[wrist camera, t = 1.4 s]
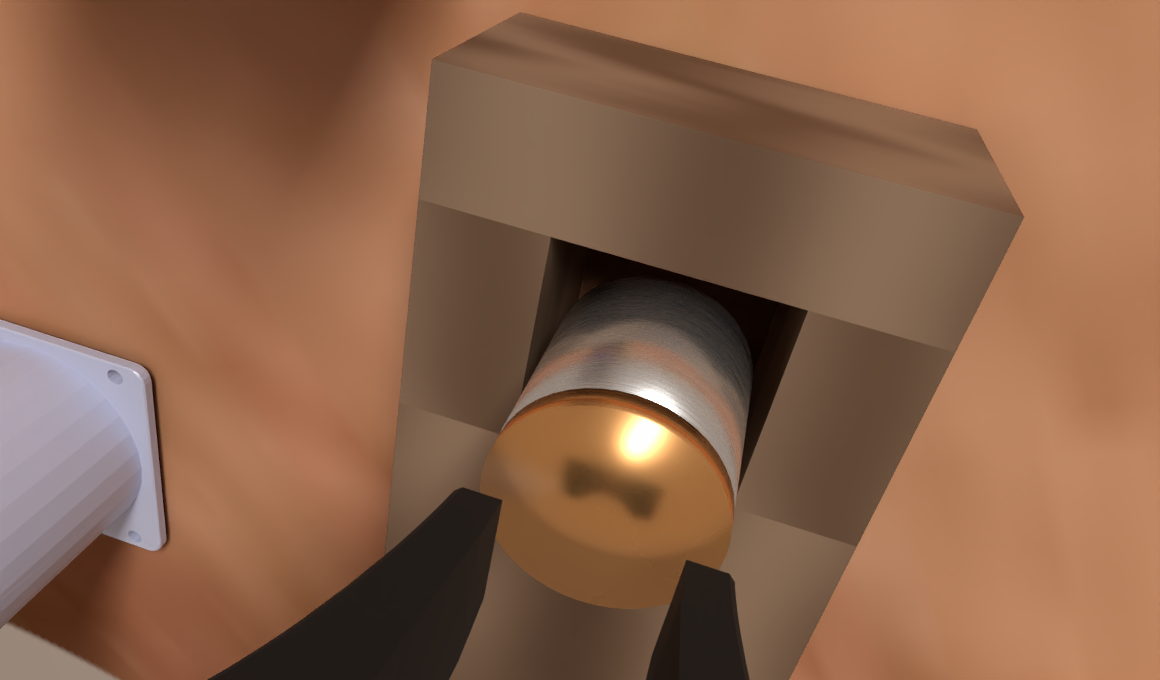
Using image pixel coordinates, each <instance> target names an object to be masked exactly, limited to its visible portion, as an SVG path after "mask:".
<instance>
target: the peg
mask: <svg viewBox="0 0 1160 680" xmlns="http://www.w3.org/2000/svg"><path fill="white" fill-rule="evenodd" d="M752 381H753V361H752V356H751V351H750V348H749V345H748V342H747V340H746V338H745V336H744V334H743V332H742V330H741V328H740V327H739V325H738V324H737V322H736V321H735V320H734V318H733V317H732V316H731V315H730V314H729V313H728V312H727V311H726V309H725V308H724V307H722V306H721V305H720V304H719V303H718V302H716V301H715V300H714V299H713V298H711V297H710V296H708V295H707V294H705V293H704V292H702V291H700V290H698V289H696V288H694V287H692V286H690V285H687V284H684V283H681V282H679V281H676V280H671V279H667V278H662V277H653V276H634V277H627V278H621V279H617V280H613V281H610V282H607V283H605V284H603V285H600V286H598V287H596V288H594V289H593V290H591V291H589V292H588V293H586V294H585V295H584V296H583V297H582V298H580V299H579V300H578V301H577V302H576V303H575V304H574V305H573V306H572V307H571V309H570V310H569V311H568V313H567V314H566V316H565V317H564V319H563V321H562V323H561V324H560V326H559V328H558V330H557V332H556V333H555V335H554V337H553V339H552V341H551V342H550V344H549V346H548V348H547V350H546V351H545V353H544V355H543V357H542V358H541V360H540V362H539V364H538V366H537V367H536V369H535V371H534V373H533V375H532V376H531V378H530V380H529V382H528V383H527V385H526V387H525V389H524V391H523V392H522V394H521V396H520V398H519V400H518V401H517V403H516V405H515V407H514V409H513V410H512V412H511V414H510V416H509V417H508V419H507V421H506V423H505V425H504V426H503V428H502V430H501V432H500V434H499V435H498V437H497V439H496V441H495V443H494V444H493V446H492V448H491V450H490V451H489V454H488V456H487V458H486V460H485V462H484V465H483V469H482V473H481V480H480V493H482V494H485V495H488V496H491V497H495V498H498V499H501V500H503V501H502V506H501V511H500V516H499V522H498V527H497V532H496V537H495V539H496V540H497V541H498V543H499V544H500V546H501V547H502V549H503V550H504V551H505V552H506V553H507V554H508V556H509V557H510V558H511V559H512V560H513V561H514V562H515V563H516V564H517V565H518V566H519V567H521V568H522V569H523V570H524V571H525V572H526V573H528V574H529V575H530V576H532V577H533V578H534V579H536V580H537V581H539V582H541V583H542V584H544V585H545V586H547V587H549V588H551V589H553V590H555V591H557V592H559V593H561V594H563V595H565V596H568V597H570V598H573V599H576V600H578V601H582V602H585V603H589V604H592V605H597V606H603V607H608V608H619V609H642V608H651V607H656V606H661V605H665V604H669V603H671V601H672V598H673V595H674V593H675V590H676V587H677V584H678V582H679V579H680V576H681V573H682V571H683V568H684V565H685V562H686V560H689V561H692V562H695V563H698V564H701V565H704V566H708V567H711V568H714V569H717V570H718V569H719V568H720V567H721V565H722V563H723V561H724V559H725V557H726V555H727V552H728V548H729V545H730V541H731V534H732V526H733V519H734V512H735V505H736V497H737V490H738V483H739V476H740V469H741V461H742V454H743V447H744V440H745V432H746V425H747V418H748V411H749V404H750V396H751V389H752Z"/></svg>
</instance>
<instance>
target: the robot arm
mask: <svg viewBox="0 0 1160 680" xmlns="http://www.w3.org/2000/svg"><path fill="white" fill-rule="evenodd" d="M502 501H503V500H501V499H498V498H495V497H491V496H488V495H485V494H482V493H479V492H476V491H473V490H470V489H467V488H464V487H461V488H459V489H457V490H454V491H453V492H452V493H451V494H450V495H449V496H448V497H447V498H446V499H445V500H444V501H443V502H442V503H441V504H440V505H439V506H438V507H437V508H436V509H435V510H434V511H433V512H432V513H431V514H430V515H429V516H428V517H427V518H426V519H425V520H424V521H423V522H422V523H421V524H420V525H419V526H418V527H416V528H415V529H414V530H413V531H412V532H411V533H410V534H409V535H408V536H406V537H405V538H404V539H403V540H402V541H401V542H400V543H399V544H397V545H396V546H395V547H394V548H393V549H392V550H390V551H389V552H388V553H387V554H386V555H384V556H383V557H382V558H381V559H380V560H378V561H377V562H376V563H375V564H374V565H372V566H371V567H370V568H369V569H368V570H366V571H365V572H364V573H363V574H362V575H360V576H359V577H358V578H357V579H355V580H354V581H353V582H352V583H350V584H349V585H348V586H347V587H345V588H344V589H343V590H341V591H340V592H338V593H337V594H336V595H334V596H333V597H332V598H330V599H329V600H328V601H326V602H325V603H324V604H322V605H321V606H320V607H318V608H317V609H316V610H314V611H313V612H312V613H310V614H309V615H307V616H306V617H305V618H303V619H302V620H301V621H299V622H298V623H296V624H295V625H293V626H292V627H291V628H289V629H288V630H286V631H285V632H283V633H282V634H280V635H279V636H277V637H276V638H274V639H273V640H271V641H270V642H268V643H267V644H265V645H264V646H262V647H261V648H259V649H257V650H256V651H254V652H253V653H251V654H249V655H248V656H246V657H245V658H243V659H241V660H240V661H238V662H237V663H235V664H233V665H232V666H230V667H229V668H227V669H225V670H223V671H222V672H220V673H218V674H216V675H215V676H213V677H211V678H209V679H208V680H449V679H450V677H451V675H452V673H453V671H454V669H455V667H456V665H457V663H458V661H459V658H460V656H461V654H462V651H463V649H464V646H465V644H466V641H467V639H468V637H469V634H470V632H471V629H472V627H473V624H474V622H475V619H476V617H477V614H478V612H479V609H480V607H481V604H482V602H483V599H484V595H485V590H486V585H487V579H488V574H489V569H490V564H491V558H492V553H493V548H494V543H495V537H496V532H497V527H498V522H499V516H500V511H501V506H502ZM100 534H104V535H107V536H110V537H113V538H116V539H119V540H122V541H124V542H127V543H130V544H133V545H136V546H139V547H142V548H145V549H147V550H152V551H156V550H159V549H160V548H161V547H162V546H163V545H164V544H165V542H166V528H165V518H164V507H163V497H162V486H161V476H160V465H159V455H158V445H157V434H156V424H155V413H154V403H153V392H152V382H151V378H150V374H149V373H148V371H147V370H146V369H145V368H144V367H143V366H141V365H139V364H137V363H134V362H131V361H128V360H125V359H122V358H119V357H116V356H112V355H109V354H106V353H103V352H100V351H97V350H94V349H91V348H88V347H84V346H81V345H78V344H75V343H72V342H69V341H66V340H63V339H60V338H56V337H53V336H50V335H47V334H44V333H41V332H38V331H35V330H32V329H28V328H25V327H22V326H19V325H16V324H13V323H10V322H7V321H4V320H0V628H2V627H3V626H4V625H5V624H6V623H7V622H8V621H9V620H10V619H11V618H12V617H13V616H14V615H15V614H16V613H17V612H19V611H20V610H21V609H22V608H23V607H24V606H25V605H26V604H27V603H28V602H29V601H30V600H31V599H32V598H33V597H34V596H35V595H37V594H38V593H39V592H40V591H41V590H42V589H43V588H44V587H45V586H46V585H47V584H48V583H49V582H50V581H51V580H52V579H53V578H55V577H56V576H57V575H58V574H59V573H60V572H61V571H62V570H63V569H64V568H65V567H66V566H67V565H68V564H69V563H70V562H72V561H73V560H74V559H75V558H76V557H77V556H78V555H79V554H80V553H81V552H82V551H83V550H84V549H85V548H86V547H87V546H88V545H90V544H91V543H92V542H93V541H94V540H95V539H96V538H97V537H98V536H99V535H100ZM646 680H750V679H749V674H748V669H747V665H746V659H745V654H744V649H743V643H742V638H741V632H740V626H739V619H738V612H737V603H736V593H735V582H734V580H733V578H732V577H731V575H730V574H729V573H726V572H723V571H720V570H717V569H714V568H711V567H708V566H704V565H701V564H698V563H695V562H692V561H689V560H686V562H685V565H684V568H683V571H682V573H681V576H680V579H679V582H678V584H677V587H676V590H675V593H674V595H673V598H672V601H671V604H670V606H669V609H668V612H667V615H666V617H665V620H664V623H663V626H662V628H661V631H660V634H659V637H658V639H657V642H656V645H655V648H654V650H653V653H652V656H651V660H650V665H649V669H648V673H647V677H646Z"/></svg>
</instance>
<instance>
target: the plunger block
mask: <svg viewBox="0 0 1160 680" xmlns="http://www.w3.org/2000/svg"><path fill="white" fill-rule="evenodd" d="M1023 218H1024V216H1023V214H1022V212H1021V210H1020V209H1019V207H1018V205H1017V203H1016V201H1015V199H1014V197H1013V196H1012V194H1011V192H1010V190H1009V188H1008V186H1007V184H1006V183H1005V181H1004V179H1003V177H1002V175H1001V173H1000V171H999V170H998V168H997V166H996V164H995V162H994V160H993V158H992V157H991V155H990V153H989V151H988V149H987V147H986V145H985V144H984V142H983V140H982V138H981V136H980V134H979V132H978V131H977V130H976V129H972V128H968V127H964V126H960V125H956V124H953V123H949V122H945V121H941V120H937V119H933V118H929V117H925V116H921V115H918V114H914V113H910V112H906V111H902V110H898V109H894V108H890V107H886V106H882V105H879V104H875V103H871V102H867V101H863V100H859V99H855V98H851V97H847V96H844V95H840V94H836V93H832V92H828V91H824V90H820V89H816V88H812V87H808V86H805V85H801V84H797V83H793V82H789V81H785V80H781V79H777V78H773V77H770V76H766V75H762V74H758V73H754V72H750V71H746V70H742V69H738V68H734V67H731V66H727V65H723V64H719V63H715V62H711V61H707V60H703V59H699V58H696V57H692V56H688V55H684V54H680V53H676V52H672V51H668V50H664V49H661V48H657V47H653V46H649V45H645V44H641V43H637V42H633V41H629V40H625V39H622V38H618V37H614V36H610V35H606V34H602V33H598V32H594V31H590V30H587V29H583V28H579V27H575V26H571V25H567V24H563V23H559V22H555V21H551V20H548V19H544V18H540V17H536V16H532V15H528V14H524V13H518V14H516V15H514V16H513V17H511V18H509V19H507V20H505V21H503V22H501V23H499V24H498V25H496V26H494V27H492V28H490V29H488V30H486V31H484V32H482V33H481V34H479V35H477V36H475V37H473V38H471V39H469V40H467V41H466V42H464V43H462V44H460V45H458V46H456V47H454V48H452V49H451V50H449V51H447V52H445V53H443V54H441V55H439V56H437V57H436V58H434V59H432V64H431V75H430V85H429V96H428V106H427V117H426V127H425V138H424V148H423V159H422V169H421V180H420V190H419V201H418V211H417V221H416V232H415V242H414V253H413V263H412V274H411V284H410V295H409V305H408V316H407V326H406V337H405V347H404V358H403V368H402V379H401V389H400V400H399V410H398V421H397V431H396V442H395V452H394V463H393V473H392V483H391V494H390V504H389V515H388V525H387V536H386V546H385V555H386V554H387V553H388V552H389V551H390V550H392V549H393V548H394V547H395V546H396V545H397V544H399V543H400V542H401V541H402V540H403V539H404V538H405V537H406V536H408V535H409V534H410V533H411V532H412V531H413V530H414V529H415V528H416V527H418V526H419V525H420V524H421V523H422V522H423V521H424V520H425V519H426V518H427V517H428V516H429V515H430V514H431V513H432V512H433V511H434V510H435V509H436V508H437V507H438V506H439V505H440V504H441V503H442V502H443V501H444V500H445V499H446V498H447V497H448V496H449V495H450V494H451V493H452V492H453V491H454V490H457V489H459V488H461V487H464V488H467V489H470V490H473V491H476V492H479V493H480V480H481V473H482V469H483V465H484V462H485V460H486V458H487V456H488V454H489V451H490V450H491V448H492V446H493V444H494V443H495V441H496V439H497V437H498V435H499V434H500V432H501V430H502V428H503V426H504V425H505V423H506V421H507V419H508V417H509V416H510V414H511V412H512V410H513V409H514V407H515V405H516V403H517V401H518V400H519V398H520V396H521V394H522V392H523V391H524V389H525V387H526V385H527V383H528V382H529V380H530V378H531V376H532V375H533V373H534V371H535V369H536V367H537V366H538V364H539V362H540V360H541V358H542V357H543V355H544V353H545V351H546V350H547V348H548V346H549V344H550V342H551V341H552V339H553V337H554V335H555V333H556V332H557V330H558V328H559V326H560V324H561V323H562V321H563V319H564V317H565V316H566V314H567V313H568V311H569V310H570V309H571V307H572V306H573V305H574V304H575V303H576V302H577V301H578V296H579V291H580V287H581V282H582V278H583V273H584V268H585V264H586V259H587V255H588V250H589V248H591V249H595V250H598V251H602V252H605V253H609V254H612V255H616V256H619V257H623V258H626V259H630V260H633V261H637V262H640V263H644V264H647V265H651V266H654V267H658V268H661V269H665V270H668V271H672V272H675V273H679V274H682V275H686V276H689V277H693V278H696V279H700V280H703V281H707V282H710V283H714V284H717V285H721V286H724V287H728V288H731V289H735V290H738V291H742V292H745V293H749V294H752V295H756V296H759V297H763V298H766V299H770V300H773V301H777V302H779V303H778V306H777V309H776V311H775V314H774V317H773V320H772V322H771V325H770V328H769V331H768V333H767V336H766V339H765V342H764V345H763V347H762V350H761V353H760V356H759V358H758V361H757V364H756V367H755V369H754V372H753V381H752V389H751V396H750V404H749V411H748V418H747V425H746V432H745V440H744V447H743V454H742V461H741V469H740V476H739V483H738V490H737V497H736V505H735V512H734V519H733V526H732V534H731V541H730V545H729V548H728V552H727V555H726V557H725V559H724V561H723V563H722V565H721V567H720V568H719V569H718V570H720V571H723V572H726V573H729V574H730V575H731V577H732V578H733V580H734V582H735V593H736V603H737V612H738V619H739V626H740V632H741V638H742V643H743V649H744V654H745V659H746V665H747V669H748V674H749V679H750V680H789V679H790V677H791V675H792V673H793V671H794V669H795V667H796V665H797V663H798V661H799V659H800V657H801V655H802V653H803V651H804V649H805V647H806V645H807V643H808V641H809V639H810V637H811V635H812V633H813V631H814V630H815V628H816V626H817V624H818V622H819V620H820V618H821V616H822V614H823V612H824V610H825V608H826V606H827V604H828V602H829V600H830V598H831V596H832V594H833V592H834V590H835V588H836V586H837V584H838V582H839V580H840V578H841V576H842V574H843V572H844V570H845V569H846V567H847V565H848V563H849V561H850V559H851V557H852V555H853V553H854V551H855V549H856V547H857V545H858V543H859V541H860V539H861V537H862V535H863V533H864V531H865V529H866V527H867V525H868V523H869V521H870V519H871V517H872V515H873V513H874V511H875V510H876V508H877V506H878V504H879V502H880V500H881V498H882V496H883V494H884V492H885V490H886V488H887V486H888V484H889V482H890V480H891V478H892V476H893V474H894V472H895V470H896V468H897V466H898V464H899V462H900V460H901V458H902V456H903V454H904V452H905V451H906V449H907V447H908V445H909V443H910V441H911V439H912V437H913V435H914V433H915V431H916V429H917V427H918V425H919V423H920V421H921V419H922V417H923V415H924V413H925V411H926V409H927V407H928V405H929V403H930V401H931V399H932V397H933V395H934V393H935V392H936V390H937V388H938V386H939V384H940V382H941V380H942V378H943V376H944V374H945V372H946V370H947V368H948V366H949V364H950V362H951V360H952V358H953V356H954V354H955V352H956V350H957V348H958V346H959V344H960V342H961V340H962V338H963V336H964V334H965V333H966V331H967V329H968V327H969V325H970V323H971V321H972V319H973V317H974V315H975V313H976V311H977V309H978V307H979V305H980V303H981V301H982V299H983V297H984V295H985V293H986V291H987V289H988V287H989V285H990V283H991V281H992V279H993V277H994V275H995V274H996V272H997V270H998V268H999V266H1000V264H1001V262H1002V260H1003V258H1004V256H1005V254H1006V252H1007V250H1008V248H1009V246H1010V244H1011V242H1012V240H1013V238H1014V236H1015V234H1016V232H1017V230H1018V228H1019V226H1020V224H1021V222H1022V220H1023ZM670 604H671V603H669V604H665V605H661V606H656V607H651V608H642V609H619V608H608V607H603V606H597V605H592V604H589V603H585V602H582V601H578V600H576V599H573V598H570V597H568V596H565V595H563V594H561V593H559V592H557V591H555V590H553V589H551V588H549V587H547V586H545V585H544V584H542V583H541V582H539V581H537V580H536V579H534V578H533V577H532V576H530V575H529V574H528V573H526V572H525V571H524V570H523V569H522V568H521V567H519V566H518V565H517V564H516V563H515V562H514V561H513V560H512V559H511V558H510V557H509V556H508V554H507V553H506V552H505V551H504V550H503V549H502V547H501V546H500V544H499V543H498V541H497V540H496V539H495V543H494V548H493V553H492V558H491V564H490V569H489V574H488V579H487V585H486V590H485V595H484V599H483V602H482V604H481V607H480V609H479V612H478V614H477V617H476V619H475V622H474V624H473V627H472V629H471V632H470V634H469V637H468V639H467V641H466V644H465V646H464V649H463V651H462V654H461V656H460V658H459V661H458V663H457V665H456V667H455V669H454V671H453V673H452V675H451V677H450V679H449V680H646V677H647V673H648V669H649V665H650V660H651V656H652V653H653V650H654V648H655V645H656V642H657V639H658V637H659V634H660V631H661V628H662V626H663V623H664V620H665V617H666V615H667V612H668V609H669V606H670Z"/></svg>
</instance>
